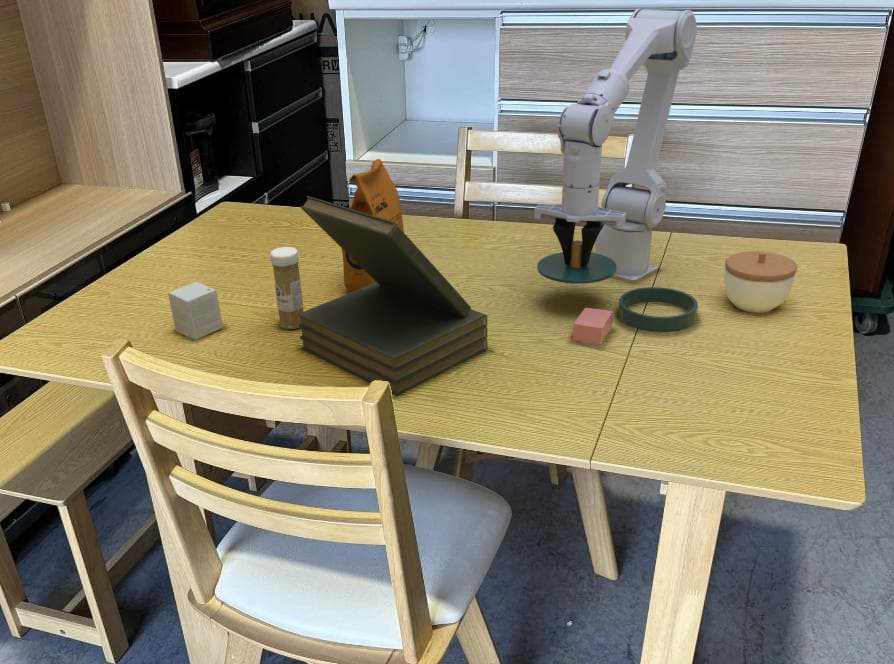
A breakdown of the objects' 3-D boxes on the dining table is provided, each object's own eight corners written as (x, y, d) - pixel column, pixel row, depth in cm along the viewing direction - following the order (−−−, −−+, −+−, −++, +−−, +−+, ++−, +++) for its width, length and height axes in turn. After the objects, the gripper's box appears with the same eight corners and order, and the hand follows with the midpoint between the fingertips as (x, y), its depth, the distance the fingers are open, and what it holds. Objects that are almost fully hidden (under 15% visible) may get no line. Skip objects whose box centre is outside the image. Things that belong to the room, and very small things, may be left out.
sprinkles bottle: (274, 326, 150) (264, 252, 143) (292, 316, 152) (283, 243, 146) (293, 332, 147) (283, 257, 140) (311, 323, 150) (303, 249, 143)
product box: (204, 319, 154) (197, 280, 150) (224, 328, 150) (217, 289, 146) (174, 331, 150) (166, 292, 147) (194, 341, 147) (186, 301, 143)
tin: (602, 320, 143) (604, 304, 142) (645, 297, 150) (646, 281, 149) (668, 342, 135) (670, 325, 134) (709, 316, 142) (712, 299, 141)
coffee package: (336, 293, 160) (324, 175, 149) (367, 269, 169) (358, 155, 158) (384, 300, 156) (376, 179, 145) (413, 275, 165) (408, 159, 154)
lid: (520, 273, 146) (521, 245, 144) (568, 251, 153) (570, 223, 151) (584, 293, 138) (586, 263, 135) (632, 269, 145) (634, 240, 142)
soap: (572, 343, 137) (573, 323, 135) (584, 326, 142) (585, 307, 140) (600, 347, 135) (602, 328, 134) (611, 330, 140) (613, 311, 138)
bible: (487, 350, 137) (487, 194, 124) (396, 396, 126) (386, 231, 114) (390, 310, 152) (381, 168, 139) (301, 348, 142) (283, 198, 129)
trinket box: (794, 321, 139) (805, 266, 134) (723, 319, 141) (732, 265, 136) (782, 294, 148) (792, 241, 143) (715, 293, 150) (723, 241, 145)
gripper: (528, 186, 138) (526, 266, 145) (620, 194, 132) (613, 278, 139) (543, 174, 143) (540, 252, 150) (631, 181, 137) (624, 262, 144)
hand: (576, 263), depth 145 cm, fingers closed on lid, 2 cm apart
